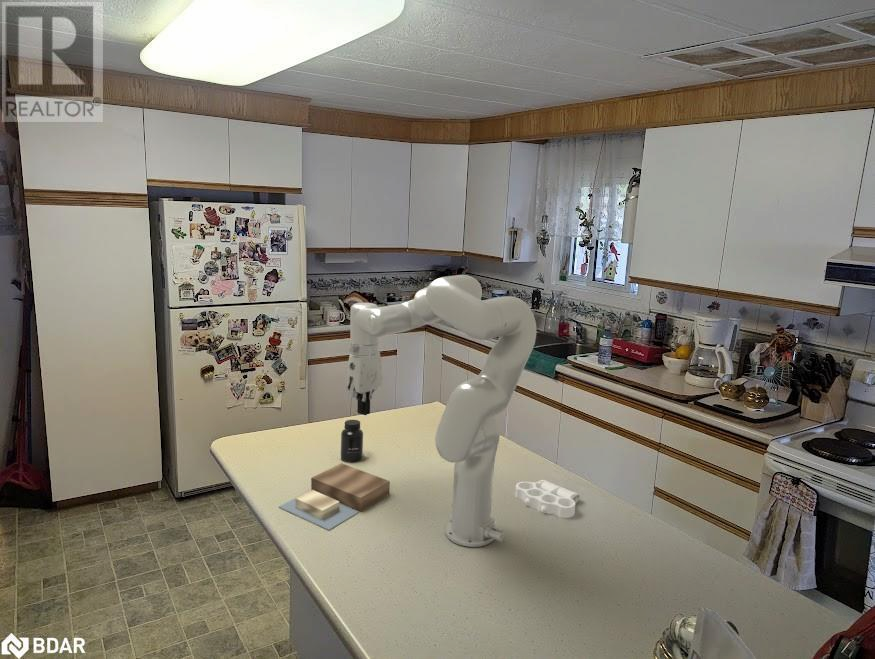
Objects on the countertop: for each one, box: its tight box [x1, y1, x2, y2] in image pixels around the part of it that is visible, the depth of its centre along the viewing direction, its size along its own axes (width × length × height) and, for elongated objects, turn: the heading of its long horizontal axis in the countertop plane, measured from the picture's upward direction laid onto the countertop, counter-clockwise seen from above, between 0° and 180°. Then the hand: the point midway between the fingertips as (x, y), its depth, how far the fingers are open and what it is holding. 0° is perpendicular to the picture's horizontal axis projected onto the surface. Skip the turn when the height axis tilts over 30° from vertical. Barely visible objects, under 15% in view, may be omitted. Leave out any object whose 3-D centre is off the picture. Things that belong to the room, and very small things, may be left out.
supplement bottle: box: [340, 419, 364, 463], centre depth 185 cm, size 7×7×12 cm
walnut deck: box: [310, 462, 391, 513], centre depth 164 cm, size 18×12×4 cm, turn 56°
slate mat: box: [278, 498, 360, 532], centre depth 154 cm, size 18×11×1 cm, turn 56°
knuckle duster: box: [514, 479, 581, 519], centre depth 163 cm, size 3×18×15 cm
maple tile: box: [294, 489, 339, 520], centre depth 154 cm, size 10×6×2 cm, turn 54°
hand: (363, 413), depth 163 cm, fingers closed
